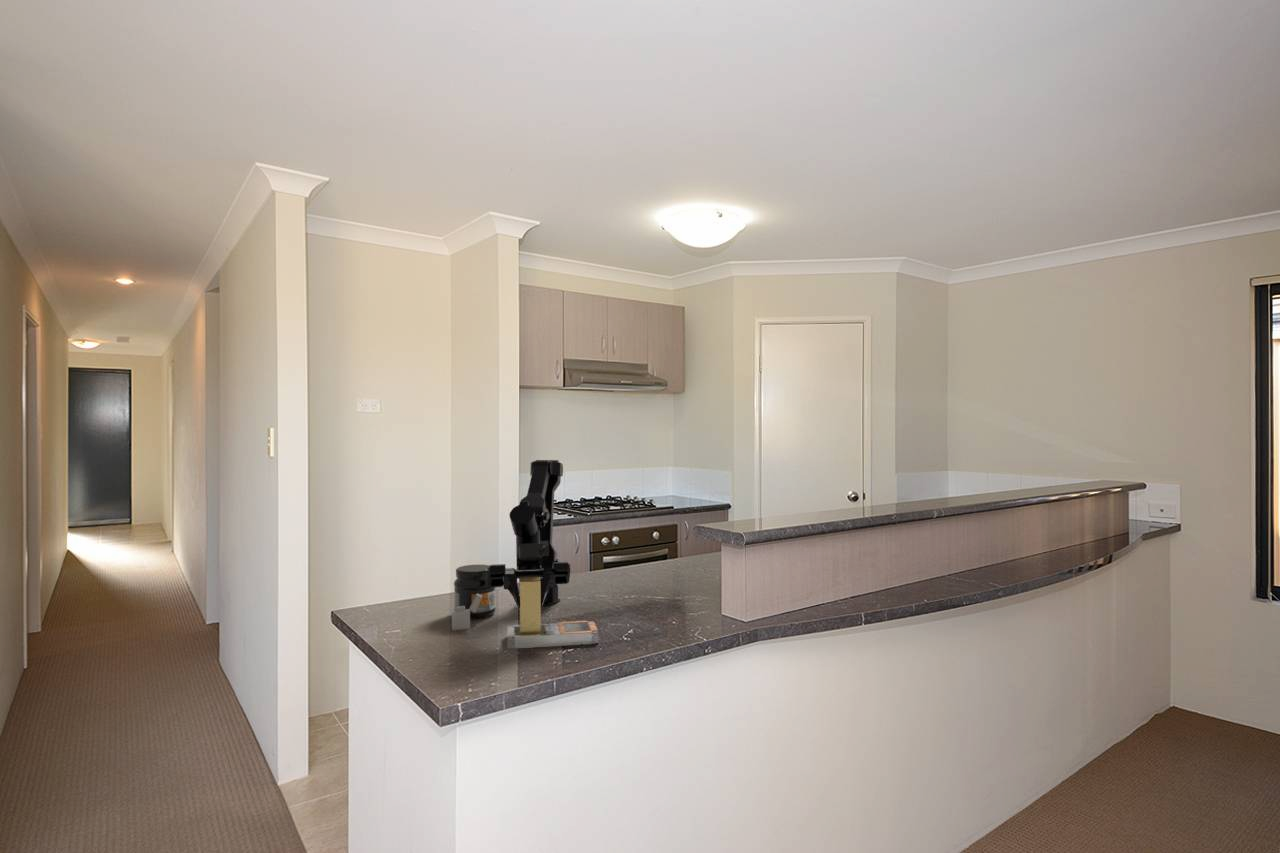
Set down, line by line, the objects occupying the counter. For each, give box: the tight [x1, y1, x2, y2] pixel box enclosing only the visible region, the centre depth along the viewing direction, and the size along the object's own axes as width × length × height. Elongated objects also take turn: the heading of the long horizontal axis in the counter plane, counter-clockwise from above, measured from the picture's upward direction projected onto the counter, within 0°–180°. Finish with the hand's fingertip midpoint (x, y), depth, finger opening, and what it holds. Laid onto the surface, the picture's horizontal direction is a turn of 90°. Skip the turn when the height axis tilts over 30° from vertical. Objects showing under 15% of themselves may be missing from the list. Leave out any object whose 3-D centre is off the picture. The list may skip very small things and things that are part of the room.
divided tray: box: [506, 620, 599, 650], centre depth 162 cm, size 20×9×3 cm, turn 101°
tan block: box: [519, 577, 542, 636], centre depth 161 cm, size 4×4×13 cm
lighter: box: [451, 594, 482, 631], centre depth 171 cm, size 7×2×8 cm, turn 110°
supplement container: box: [453, 563, 497, 620], centre depth 183 cm, size 10×10×12 cm
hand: (530, 606), depth 160 cm, fingers closed on tan block, 4 cm apart
